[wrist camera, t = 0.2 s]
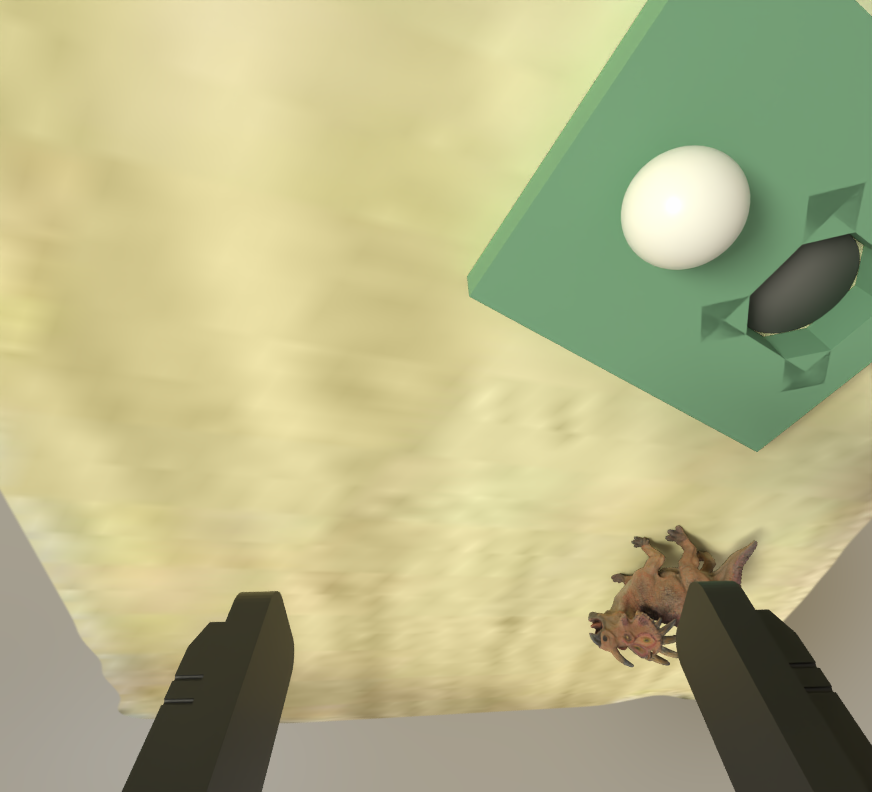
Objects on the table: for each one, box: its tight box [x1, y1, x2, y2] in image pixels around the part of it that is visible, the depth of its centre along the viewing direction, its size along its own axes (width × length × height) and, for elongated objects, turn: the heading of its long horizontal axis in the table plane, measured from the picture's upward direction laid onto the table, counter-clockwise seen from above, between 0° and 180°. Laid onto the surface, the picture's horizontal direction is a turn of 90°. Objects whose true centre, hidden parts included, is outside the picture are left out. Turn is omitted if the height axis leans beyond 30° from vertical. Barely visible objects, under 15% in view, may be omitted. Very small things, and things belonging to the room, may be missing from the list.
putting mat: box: [467, 0, 872, 452], centre depth 27 cm, size 18×22×2 cm
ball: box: [621, 145, 750, 270], centre depth 23 cm, size 5×5×5 cm
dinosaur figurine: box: [588, 525, 757, 667], centre depth 41 cm, size 14×6×9 cm, turn 112°
